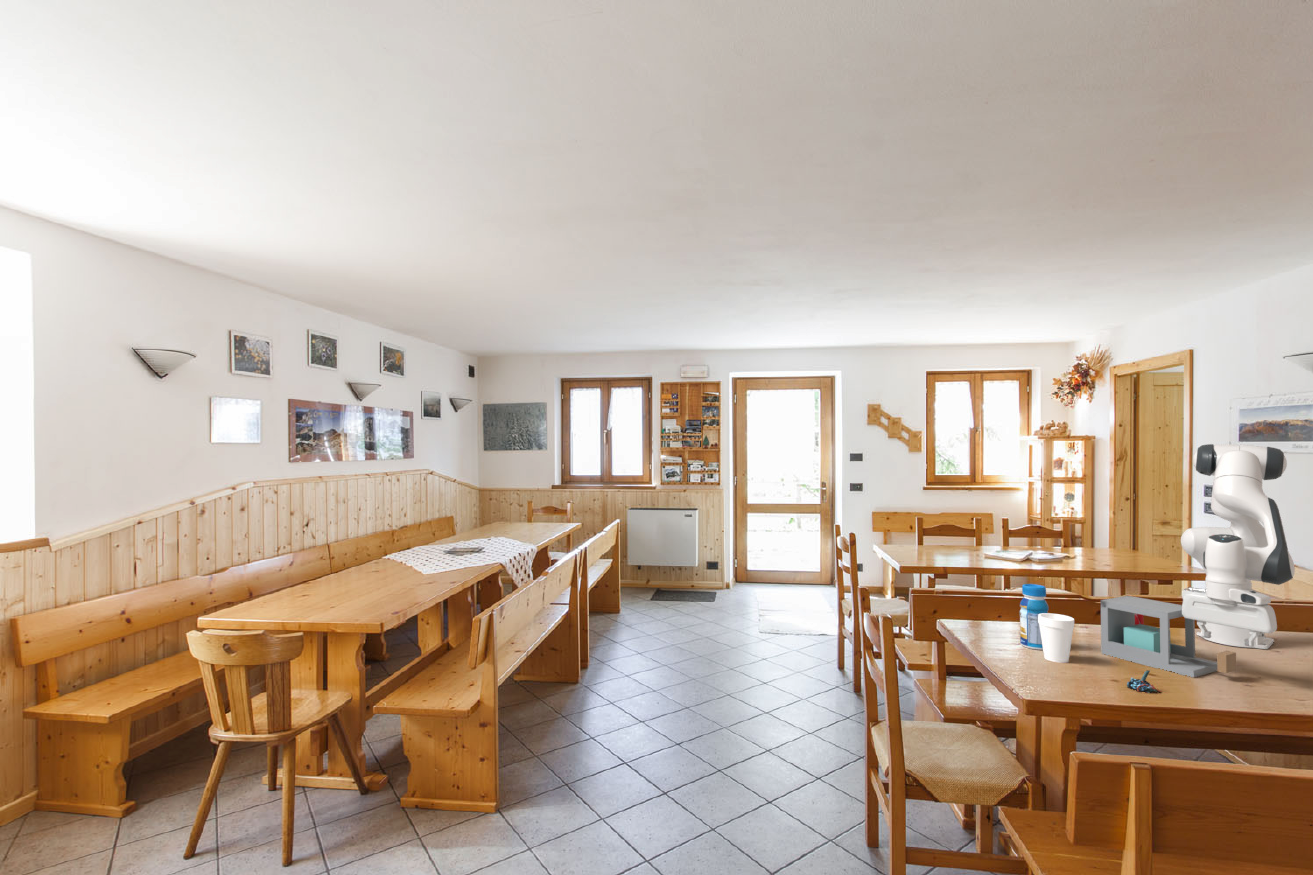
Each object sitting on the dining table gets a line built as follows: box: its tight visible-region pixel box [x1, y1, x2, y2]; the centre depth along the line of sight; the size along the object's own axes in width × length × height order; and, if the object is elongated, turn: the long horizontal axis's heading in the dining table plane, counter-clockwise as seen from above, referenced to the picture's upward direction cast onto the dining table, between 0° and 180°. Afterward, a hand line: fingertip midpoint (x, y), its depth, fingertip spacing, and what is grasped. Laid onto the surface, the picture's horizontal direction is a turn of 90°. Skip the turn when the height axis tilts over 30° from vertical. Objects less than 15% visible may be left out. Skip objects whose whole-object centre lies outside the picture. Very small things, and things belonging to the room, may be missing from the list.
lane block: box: [1124, 624, 1237, 674], centre depth 186 cm, size 10×24×7 cm, turn 27°
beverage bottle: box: [1019, 583, 1049, 651], centre depth 205 cm, size 8×8×20 cm
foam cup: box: [1038, 612, 1075, 664], centre depth 192 cm, size 10×9×13 cm
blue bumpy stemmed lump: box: [1126, 669, 1162, 694], centre depth 167 cm, size 8×7×8 cm
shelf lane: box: [1100, 595, 1218, 678], centre depth 191 cm, size 16×24×17 cm, turn 27°
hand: (1227, 641), depth 176 cm, fingers open, 8 cm apart
